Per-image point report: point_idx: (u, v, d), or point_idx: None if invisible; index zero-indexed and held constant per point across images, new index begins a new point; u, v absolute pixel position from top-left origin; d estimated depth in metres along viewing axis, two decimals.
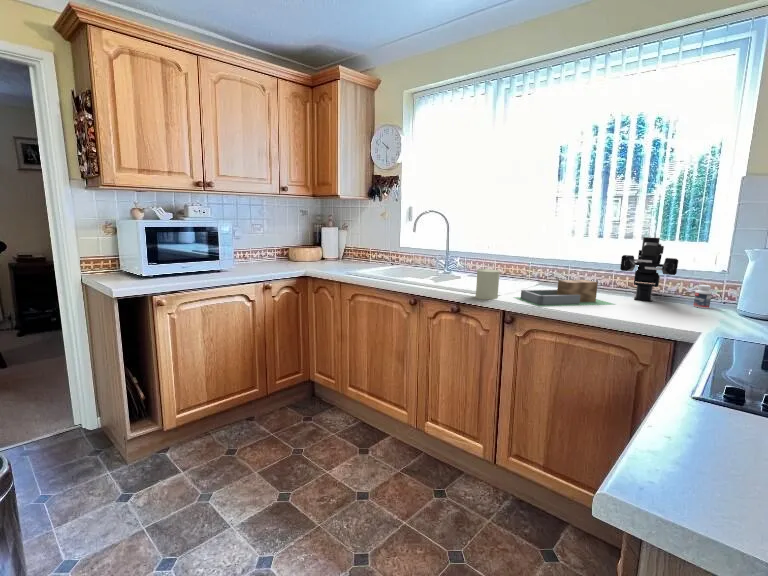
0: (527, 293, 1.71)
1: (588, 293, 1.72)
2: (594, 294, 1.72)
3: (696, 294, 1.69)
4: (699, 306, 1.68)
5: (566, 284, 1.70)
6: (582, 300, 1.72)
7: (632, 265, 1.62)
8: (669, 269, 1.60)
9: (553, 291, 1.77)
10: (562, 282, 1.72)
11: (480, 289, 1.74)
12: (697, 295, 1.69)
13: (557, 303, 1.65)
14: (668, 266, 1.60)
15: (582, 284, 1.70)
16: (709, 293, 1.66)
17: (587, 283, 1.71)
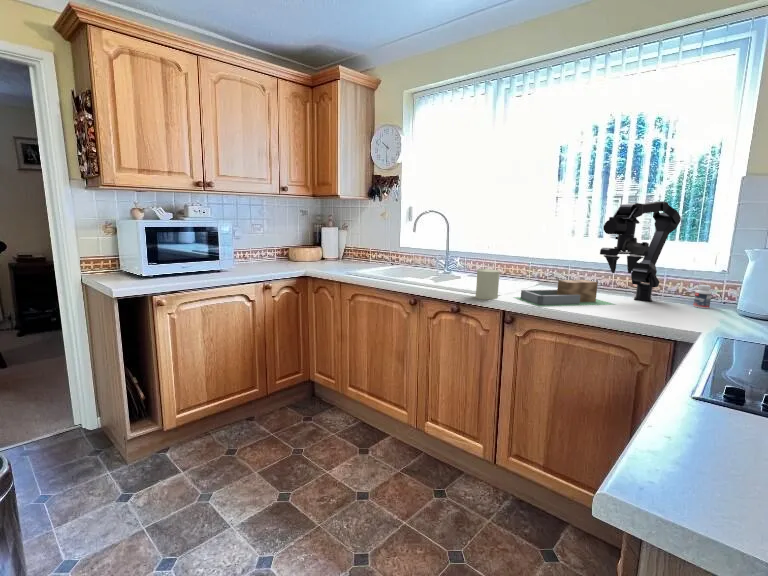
0: (527, 293, 1.71)
1: (588, 293, 1.72)
2: (594, 294, 1.72)
3: (696, 294, 1.69)
4: (699, 306, 1.68)
5: (566, 284, 1.70)
6: (582, 300, 1.72)
7: (612, 269, 1.73)
8: None
9: (553, 291, 1.77)
10: (562, 282, 1.72)
11: (480, 289, 1.74)
12: (697, 294, 1.69)
13: (557, 303, 1.65)
14: None
15: (582, 284, 1.70)
16: (709, 293, 1.66)
17: (587, 283, 1.71)
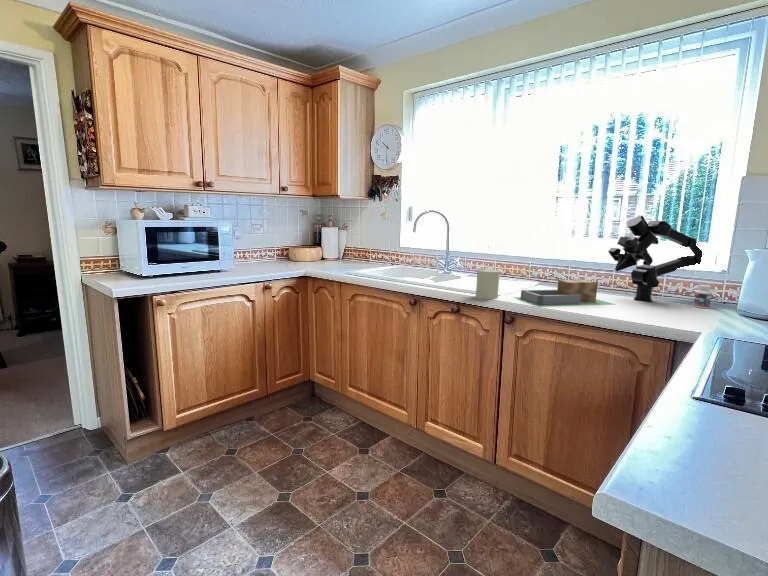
0: (527, 293, 1.71)
1: (588, 293, 1.72)
2: (594, 294, 1.72)
3: (696, 294, 1.69)
4: (699, 306, 1.68)
5: (566, 284, 1.70)
6: (582, 300, 1.72)
7: None
8: (632, 261, 1.75)
9: (553, 291, 1.77)
10: (562, 282, 1.72)
11: (480, 289, 1.74)
12: (697, 294, 1.69)
13: (557, 303, 1.65)
14: (630, 259, 1.75)
15: (582, 284, 1.70)
16: (709, 293, 1.66)
17: (587, 283, 1.71)
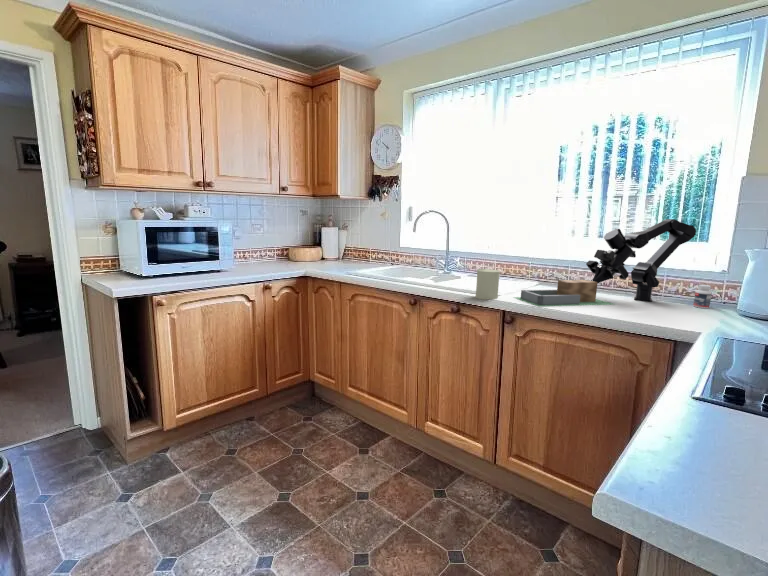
0: (527, 293, 1.71)
1: (588, 293, 1.72)
2: (594, 294, 1.72)
3: (696, 294, 1.69)
4: (699, 306, 1.68)
5: (565, 284, 1.70)
6: (582, 300, 1.72)
7: None
8: (609, 275, 1.73)
9: (553, 291, 1.77)
10: (562, 282, 1.72)
11: (480, 289, 1.74)
12: (697, 295, 1.69)
13: (557, 303, 1.65)
14: (606, 273, 1.73)
15: (582, 284, 1.70)
16: (709, 293, 1.66)
17: (587, 283, 1.71)
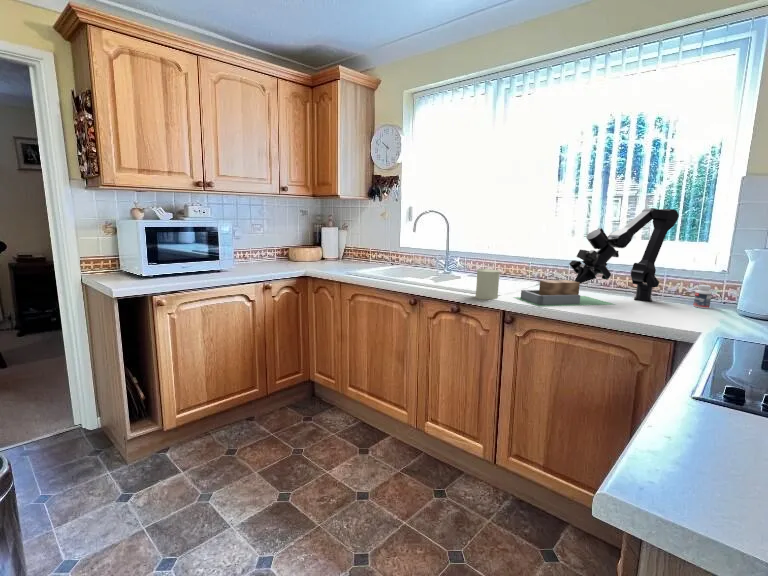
0: (527, 293, 1.71)
1: (570, 293, 1.70)
2: (576, 294, 1.70)
3: (696, 294, 1.69)
4: (699, 306, 1.68)
5: (547, 284, 1.68)
6: None
7: None
8: (591, 275, 1.71)
9: None
10: (544, 282, 1.70)
11: (480, 289, 1.74)
12: (697, 294, 1.69)
13: (557, 303, 1.65)
14: (589, 273, 1.71)
15: (564, 284, 1.68)
16: (709, 293, 1.66)
17: (569, 283, 1.69)
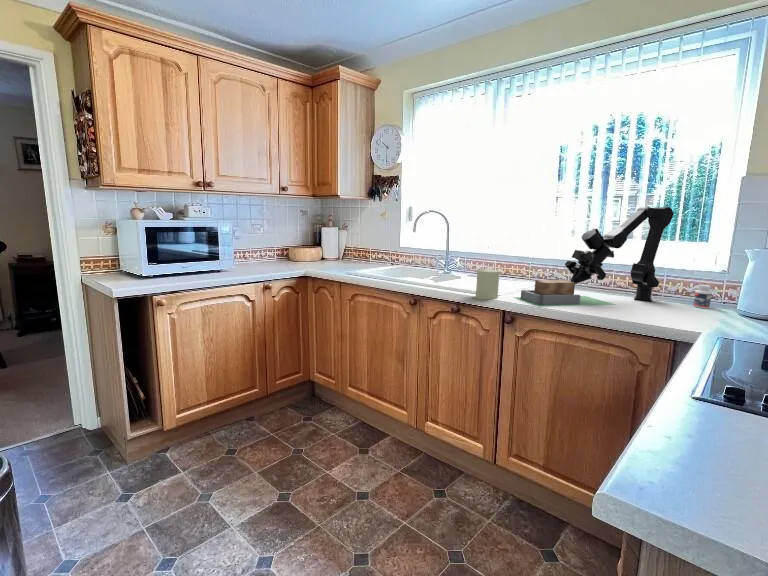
0: (527, 293, 1.71)
1: (565, 294, 1.69)
2: (571, 294, 1.70)
3: (696, 294, 1.69)
4: (699, 306, 1.68)
5: (542, 285, 1.67)
6: None
7: None
8: (586, 275, 1.70)
9: None
10: (539, 282, 1.69)
11: (480, 289, 1.74)
12: (697, 294, 1.69)
13: (557, 303, 1.65)
14: (584, 273, 1.71)
15: (559, 284, 1.68)
16: (709, 293, 1.66)
17: (564, 283, 1.68)
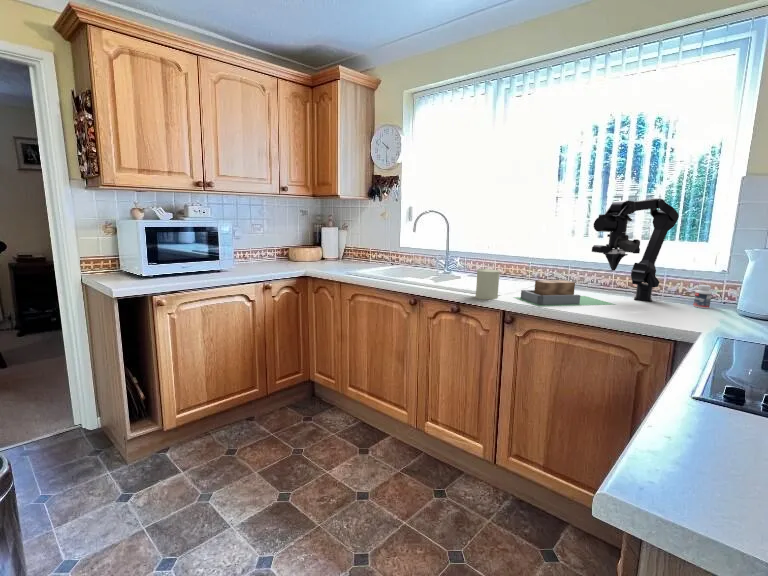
0: (527, 293, 1.71)
1: (565, 294, 1.69)
2: (571, 294, 1.70)
3: (696, 294, 1.69)
4: (699, 306, 1.68)
5: (542, 285, 1.67)
6: None
7: (611, 266, 1.74)
8: None
9: None
10: (539, 282, 1.69)
11: (480, 289, 1.74)
12: (697, 294, 1.69)
13: (557, 303, 1.65)
14: None
15: (559, 284, 1.68)
16: (709, 293, 1.66)
17: (564, 283, 1.68)
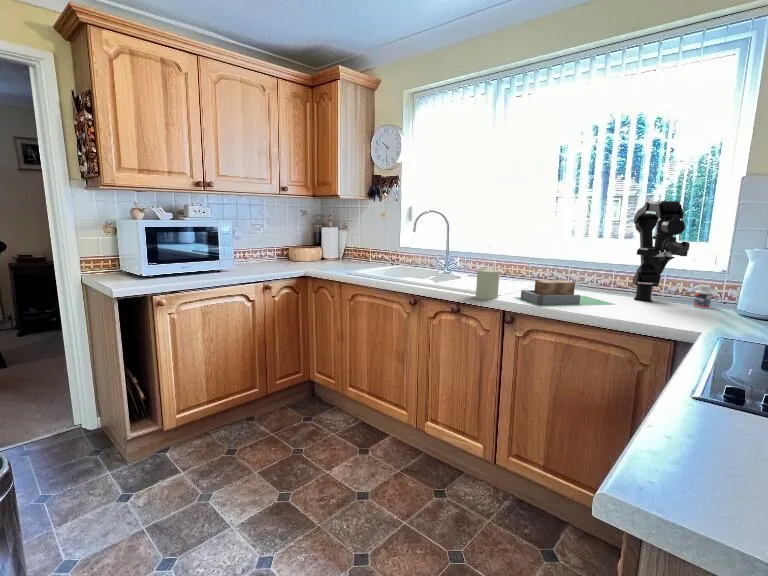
0: (527, 293, 1.71)
1: (565, 294, 1.69)
2: (571, 294, 1.70)
3: (696, 294, 1.69)
4: (699, 306, 1.68)
5: (542, 285, 1.67)
6: None
7: (657, 270, 1.66)
8: None
9: None
10: (539, 282, 1.69)
11: (480, 289, 1.74)
12: (697, 294, 1.69)
13: (557, 303, 1.65)
14: None
15: (559, 284, 1.68)
16: (709, 293, 1.66)
17: (564, 283, 1.68)
